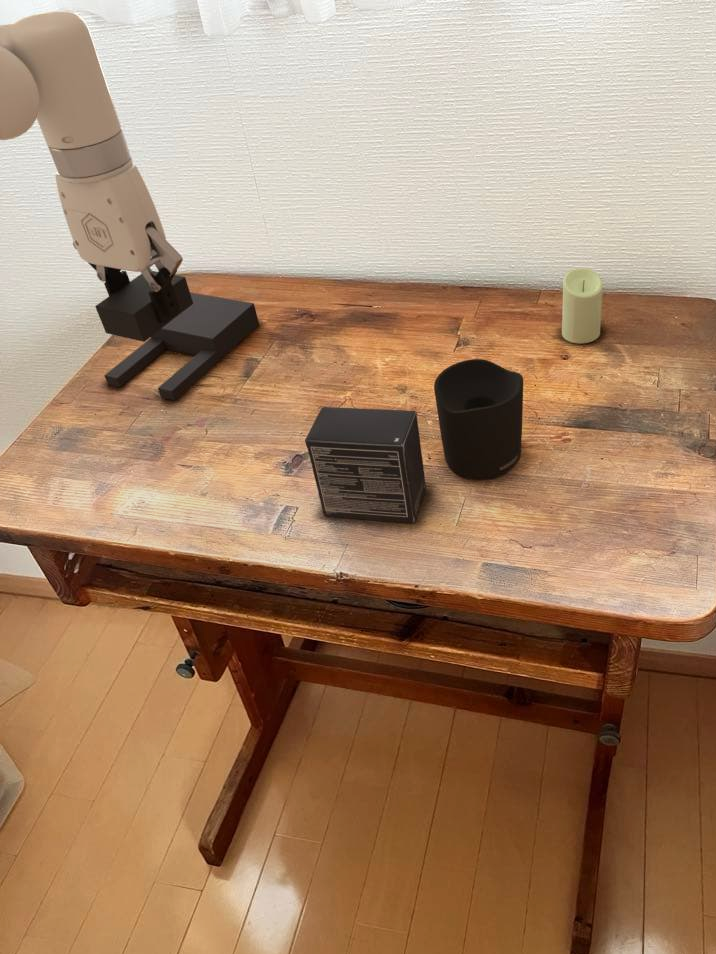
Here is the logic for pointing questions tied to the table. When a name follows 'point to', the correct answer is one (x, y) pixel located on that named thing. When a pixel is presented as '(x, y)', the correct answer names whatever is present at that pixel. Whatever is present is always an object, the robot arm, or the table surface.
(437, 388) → the pen holder
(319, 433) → the small box
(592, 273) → the candle
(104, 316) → the black block
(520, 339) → the table surface
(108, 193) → the robot arm
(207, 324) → the base pad
